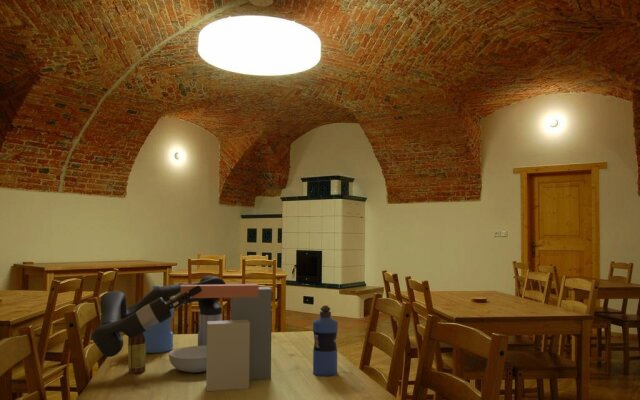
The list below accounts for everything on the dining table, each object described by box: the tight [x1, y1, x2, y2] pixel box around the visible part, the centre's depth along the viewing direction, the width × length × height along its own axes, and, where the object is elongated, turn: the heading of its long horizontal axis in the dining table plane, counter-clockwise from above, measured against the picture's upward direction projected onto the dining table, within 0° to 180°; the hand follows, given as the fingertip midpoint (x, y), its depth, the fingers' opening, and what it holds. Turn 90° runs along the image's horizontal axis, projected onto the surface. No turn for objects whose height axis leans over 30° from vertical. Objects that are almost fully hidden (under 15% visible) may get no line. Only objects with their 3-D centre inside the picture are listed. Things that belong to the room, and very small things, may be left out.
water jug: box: [143, 285, 175, 354], centre depth 240 cm, size 16×16×28 cm
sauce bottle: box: [127, 333, 147, 374], centre depth 204 cm, size 7×6×20 cm
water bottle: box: [312, 305, 339, 378], centre depth 203 cm, size 9×9×25 cm
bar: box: [181, 283, 260, 299], centre depth 185 cm, size 26×4×4 cm, turn 104°
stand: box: [205, 286, 273, 392], centre depth 192 cm, size 23×18×32 cm
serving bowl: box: [168, 345, 207, 374], centre depth 207 cm, size 21×21×7 cm
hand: (200, 287), depth 183 cm, fingers closed on bar, 4 cm apart
